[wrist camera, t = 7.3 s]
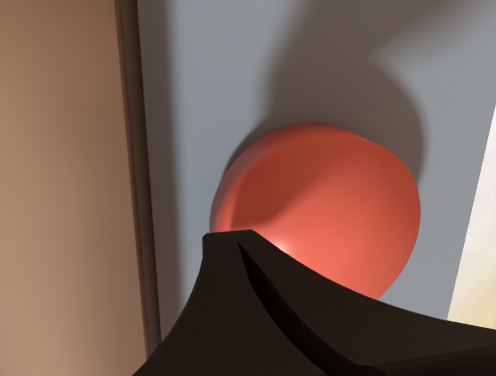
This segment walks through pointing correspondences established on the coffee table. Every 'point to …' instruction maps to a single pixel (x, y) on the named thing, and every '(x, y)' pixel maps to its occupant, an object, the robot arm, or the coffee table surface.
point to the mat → (317, 113)
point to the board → (67, 194)
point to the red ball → (325, 203)
